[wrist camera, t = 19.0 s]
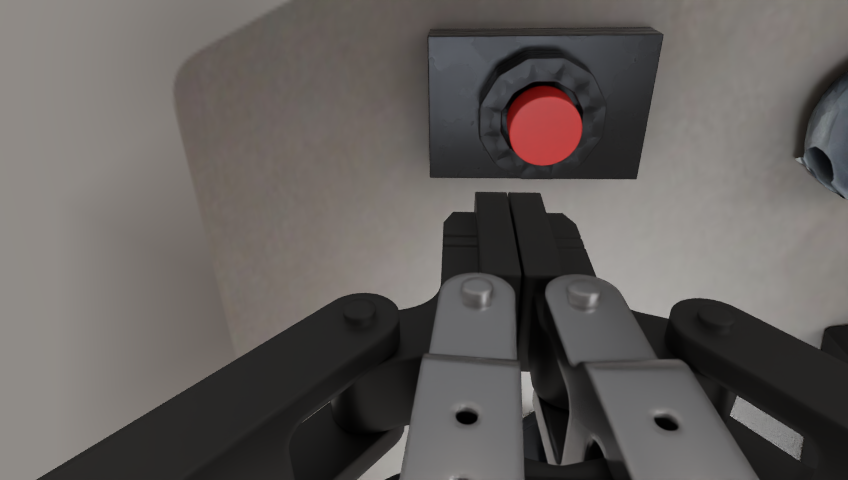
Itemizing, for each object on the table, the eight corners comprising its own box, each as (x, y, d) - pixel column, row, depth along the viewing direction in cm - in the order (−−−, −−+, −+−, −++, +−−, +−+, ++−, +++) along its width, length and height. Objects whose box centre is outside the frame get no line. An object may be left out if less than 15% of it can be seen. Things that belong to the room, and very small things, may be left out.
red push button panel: (431, 163, 35) (428, 190, 31) (430, 29, 31) (425, 43, 27) (627, 165, 34) (645, 192, 31) (651, 27, 30) (675, 41, 27)
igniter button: (504, 151, 30) (507, 165, 29) (508, 85, 28) (511, 96, 27) (571, 151, 30) (578, 166, 28) (579, 85, 28) (587, 96, 26)
